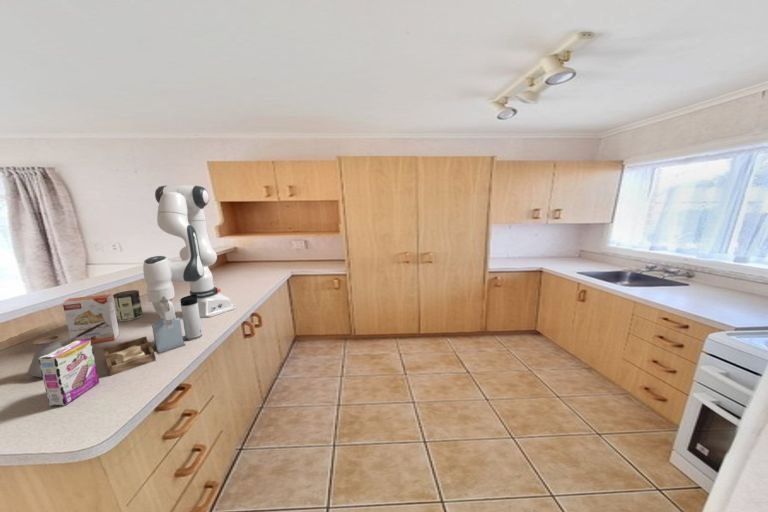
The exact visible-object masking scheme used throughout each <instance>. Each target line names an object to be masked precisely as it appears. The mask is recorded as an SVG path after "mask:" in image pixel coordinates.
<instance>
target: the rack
mask: <svg viewBox="0 0 768 512" xmlns="http://www.w3.org/2000/svg"><path fill="white" fill-rule="evenodd" d="M134 345H135V346H141V351H143V352H144V353H145V356H142V357H139V358H136V359H133V360H130V361H126V362H123V363H120V364H117V365H116V363H115V359H117V354H116V353H118V352H121V351H123V350H125V349H127V348H130V347H132V346H134ZM102 350H103V354H104V360H105V363H106V368H107V370H108V375H109V377H110V376H114V375H116V374H119V373H123V372H125V371H129V370H131V369H134V368H138V367H141V366H143V365H146V364H149V363H153V362H155V361H157V359H156V355H155V350H154V349H153V347H152V345H151V342H149V340H148V338H147V336H142V337H139V338H135V339H131V340H128V341H124V342H121V343H120V342H119V343H117V344H114V345H109V346H106V347H103V348H102Z"/></svg>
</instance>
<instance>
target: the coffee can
mask: <svg viewBox="0 0 768 512" xmlns="http://www.w3.org/2000/svg"><path fill="white" fill-rule="evenodd" d="M112 298H113V302H114V307H115V312H116V317H117V322H118V321H119V322H127V321H128V322H129V321H133V320H136V319H139V318H142V317H143V315H144V313H143V307H142V302H141V296H140V290H136V289H135V290H134V289H133V290H132V289H131V290H124V291H121V292H120V291H119V292H116V293H114V294H112Z"/></svg>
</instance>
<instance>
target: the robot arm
mask: <svg viewBox="0 0 768 512" xmlns="http://www.w3.org/2000/svg"><path fill="white" fill-rule="evenodd" d="M154 194H155V195H154V196H155V201H156V202H157V203H158V205H157V216H156V217H157V218H156V223H157V226H158V227H159V229H161V230H162V231H163V232H164V233H167V234H169V235H172V236H175V237H177V238H181V239H182V240H183V241H184V243H185V246H183V247H182V248H180V251H179V257H180V259H181V260H179V259H178V260H171V259H170V260H169V259H168V258H167V256H164V255H156V256H151V257H148V258H146V259H144V261H143V267H142V268H143V269H142V271H143V272H142V273H143V277H144V282H145V283H146V294H147V300H148V302H151V303H152V307H153V309H154V311H155V312H156V313H157V314H158V315H159V317H160V321H162V320H164V321H165V322H166V328H167V329H170V328H172V320H175V318H176V317H177V316H176V312H175V307H174V304H173V299H174V298H175V297H176V292H175V288H174V284H173V283H175V282H186V283H187V282H188V283H189V288H190V290H189V295H194V294H196V295H197V302H198V309H199V316H200V318H212V317H214V316H218V315H220V314H224V313H226V312H230V311H232V310H235V309H236V308H237V306H236V304H235V303H234V302H231V299H230V298H229V297H228V296H227V295H225V294H223V293H220V292H221V291H222V289H221V288H220V287H216V286H214V284H215V283H214V277H213V273H212V272H211V270H210V269H209V267H210V266H212V265H215V263H216V262H217V259H218V256H217V253H216V251H215V250H214V248H213V246H212V243H211V240H210V237H209V234H208V227H207V226H208V225H207V219H206V213H205V209H204V208H206V206H207V205H208V204H209V201H210V199H209V198H210V197H209V193H208V190H207V189H206V188H205V187H203V186H200V185H188V184H181V185H180V184H179V185H177V184H176V185H175V184H174V185H160V186H158V187H157V188H156V189H155V192H154Z"/></svg>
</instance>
